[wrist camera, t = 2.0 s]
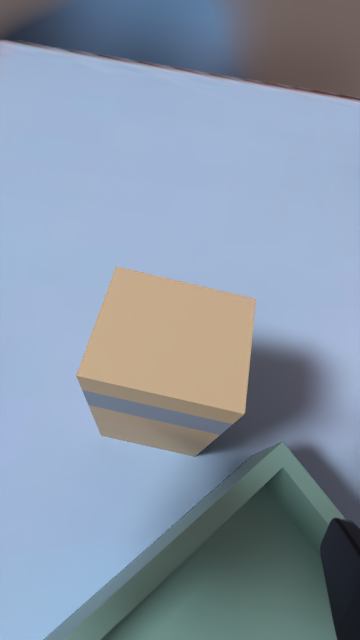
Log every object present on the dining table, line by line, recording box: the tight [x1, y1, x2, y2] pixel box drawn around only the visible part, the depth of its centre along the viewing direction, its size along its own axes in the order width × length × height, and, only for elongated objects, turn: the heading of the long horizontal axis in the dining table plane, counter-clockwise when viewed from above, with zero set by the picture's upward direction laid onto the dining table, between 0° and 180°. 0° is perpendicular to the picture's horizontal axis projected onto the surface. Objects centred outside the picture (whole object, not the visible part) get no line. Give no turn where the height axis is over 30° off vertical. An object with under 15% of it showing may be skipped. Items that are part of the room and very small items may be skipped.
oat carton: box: [76, 267, 256, 457], centre depth 16 cm, size 4×6×10 cm
